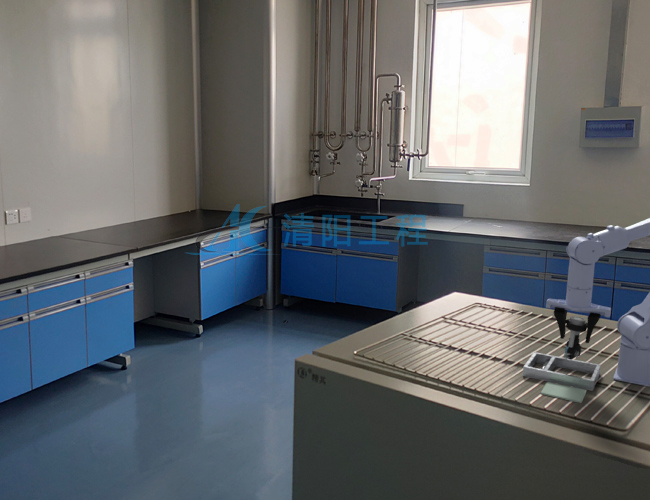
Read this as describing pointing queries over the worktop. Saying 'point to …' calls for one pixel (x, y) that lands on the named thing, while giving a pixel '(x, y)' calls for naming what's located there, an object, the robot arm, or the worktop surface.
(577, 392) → the mat
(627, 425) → the worktop surface
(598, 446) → the worktop surface
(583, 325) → the push button
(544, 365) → the rod
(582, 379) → the grey divided frame
